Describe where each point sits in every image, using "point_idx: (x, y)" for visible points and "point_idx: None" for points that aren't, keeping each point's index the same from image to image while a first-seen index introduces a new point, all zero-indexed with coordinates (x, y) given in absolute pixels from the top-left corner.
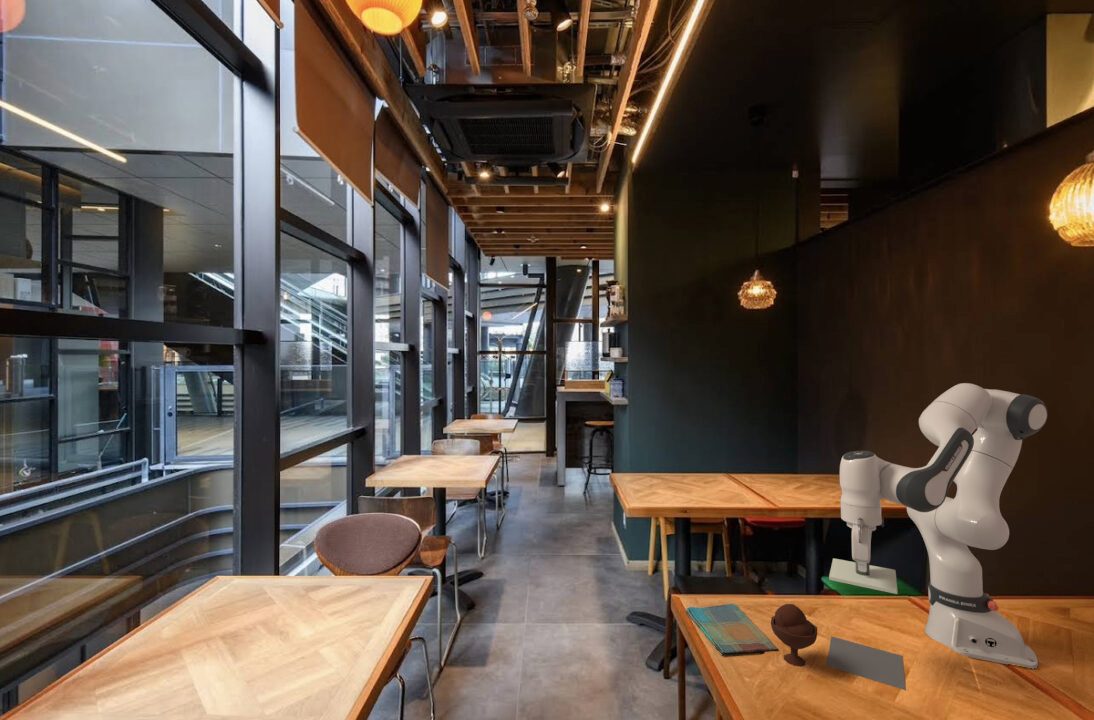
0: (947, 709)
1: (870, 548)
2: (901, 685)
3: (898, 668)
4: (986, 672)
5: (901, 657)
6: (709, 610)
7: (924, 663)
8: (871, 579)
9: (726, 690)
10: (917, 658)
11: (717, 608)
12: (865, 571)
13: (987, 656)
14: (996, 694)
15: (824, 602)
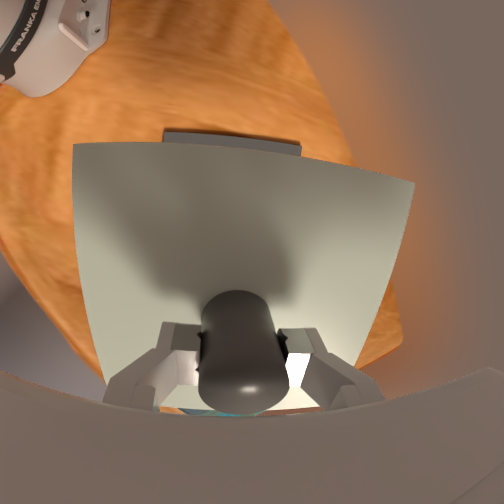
0: (320, 92)
1: (293, 436)
2: (288, 150)
3: (224, 144)
4: (151, 10)
5: (172, 134)
6: (201, 414)
7: (167, 95)
8: (314, 285)
9: (376, 360)
10: (152, 105)
11: (189, 409)
12: (314, 331)
13: (105, 6)
14: (226, 8)
15: (30, 267)
